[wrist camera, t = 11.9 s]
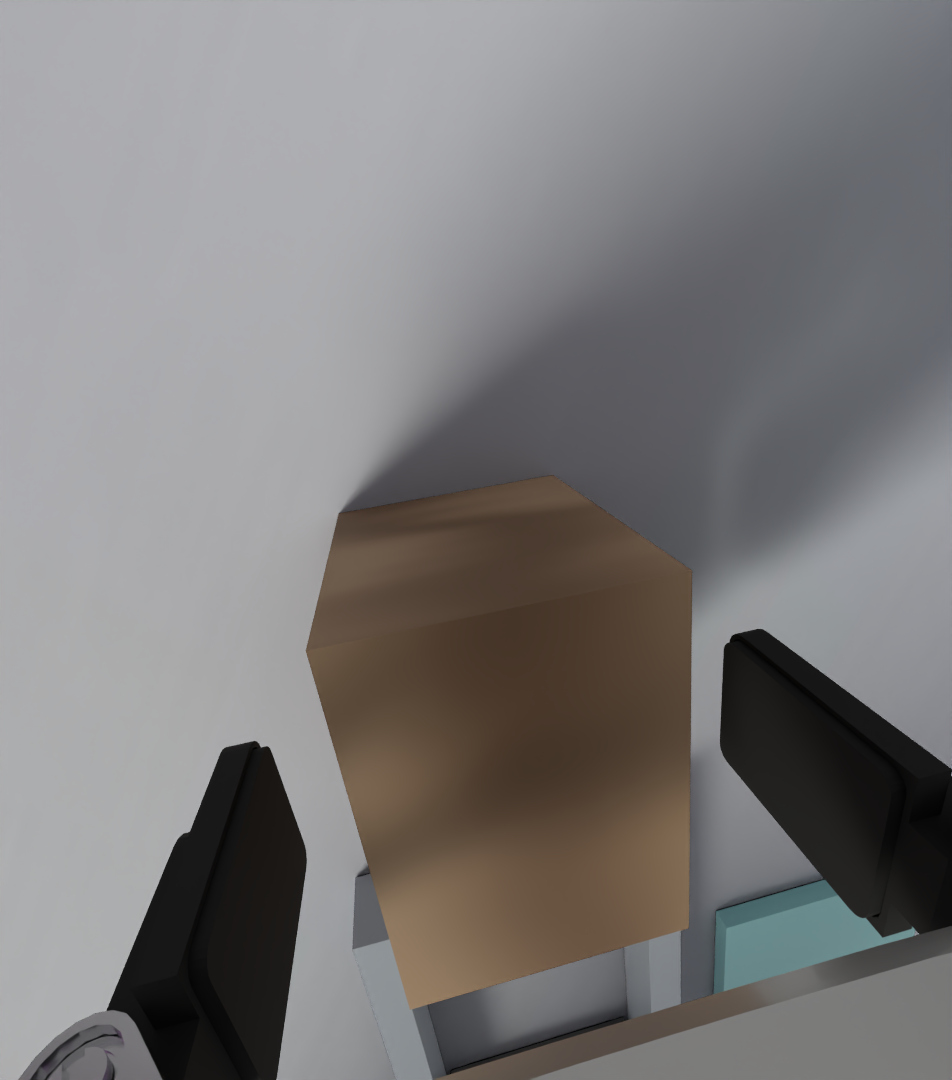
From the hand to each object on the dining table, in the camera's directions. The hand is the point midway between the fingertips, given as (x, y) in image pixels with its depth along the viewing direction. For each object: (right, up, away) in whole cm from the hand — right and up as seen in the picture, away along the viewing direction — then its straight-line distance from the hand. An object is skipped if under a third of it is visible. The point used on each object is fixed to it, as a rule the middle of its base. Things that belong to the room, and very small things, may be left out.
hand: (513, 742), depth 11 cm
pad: (+12, -12, +10) cm, 20 cm away
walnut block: (-1, +2, +3) cm, 4 cm away
